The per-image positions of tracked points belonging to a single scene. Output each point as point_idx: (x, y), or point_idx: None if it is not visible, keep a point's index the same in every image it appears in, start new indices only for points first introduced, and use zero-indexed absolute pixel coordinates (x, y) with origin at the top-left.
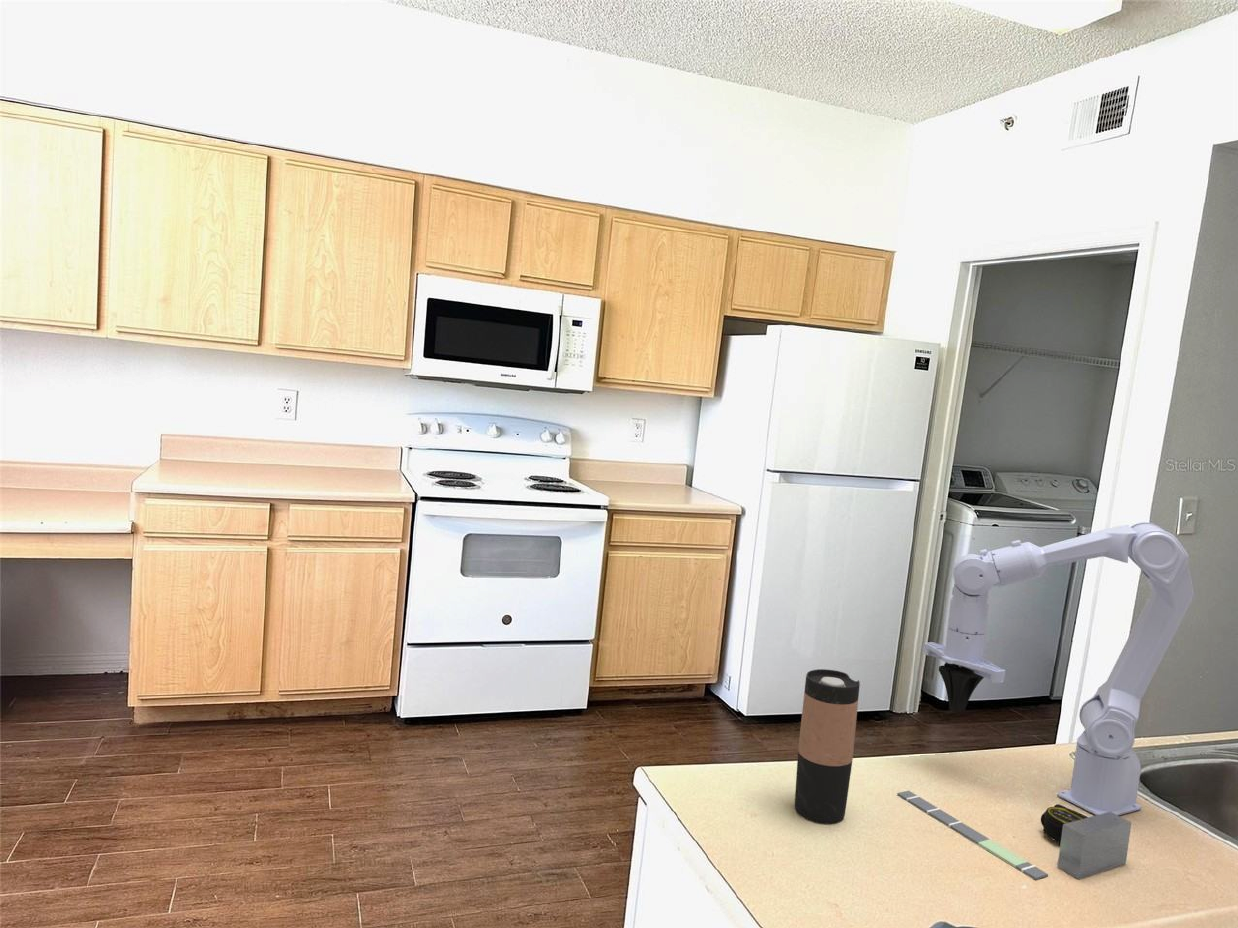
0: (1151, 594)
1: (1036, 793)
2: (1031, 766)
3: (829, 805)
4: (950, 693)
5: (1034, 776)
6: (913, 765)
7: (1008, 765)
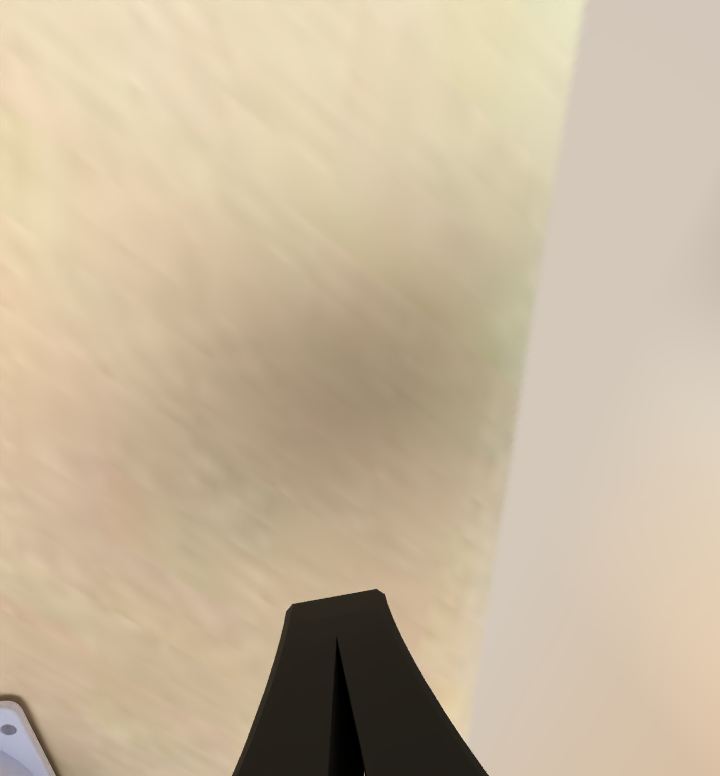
0: None
1: (47, 633)
2: None
3: None
4: (381, 760)
5: (212, 718)
6: (437, 209)
7: None
